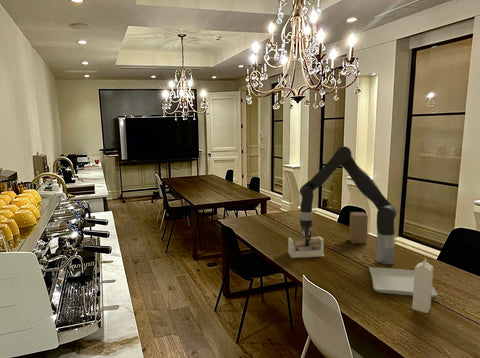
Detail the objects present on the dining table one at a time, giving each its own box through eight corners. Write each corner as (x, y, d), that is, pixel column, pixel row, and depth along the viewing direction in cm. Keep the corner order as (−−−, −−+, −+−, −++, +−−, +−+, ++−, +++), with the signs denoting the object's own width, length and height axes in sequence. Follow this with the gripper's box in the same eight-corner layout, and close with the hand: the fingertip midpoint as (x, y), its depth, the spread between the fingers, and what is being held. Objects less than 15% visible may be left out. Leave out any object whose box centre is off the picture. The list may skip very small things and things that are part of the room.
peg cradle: (324, 256, 211) (324, 240, 209) (291, 257, 209) (291, 242, 207) (319, 250, 221) (319, 235, 219) (287, 252, 219) (287, 237, 217)
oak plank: (318, 246, 212) (318, 238, 212) (295, 247, 211) (295, 239, 210) (316, 243, 217) (316, 236, 216) (293, 245, 215) (293, 237, 215)
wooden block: (363, 239, 241) (364, 211, 238) (367, 244, 231) (368, 215, 228) (348, 239, 242) (349, 211, 239) (352, 244, 232) (352, 215, 229)
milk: (430, 308, 149) (434, 259, 146) (427, 313, 144) (431, 263, 141) (415, 303, 153) (418, 256, 150) (411, 309, 148) (415, 260, 145)
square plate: (423, 277, 180) (423, 270, 179) (438, 302, 154) (438, 294, 153) (368, 272, 187) (368, 265, 187) (373, 295, 161) (373, 288, 161)
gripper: (315, 221, 205) (315, 248, 207) (308, 215, 219) (308, 241, 221) (303, 221, 204) (303, 249, 206) (297, 215, 218) (297, 241, 221)
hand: (305, 244), depth 214 cm, fingers closed on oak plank, 4 cm apart
